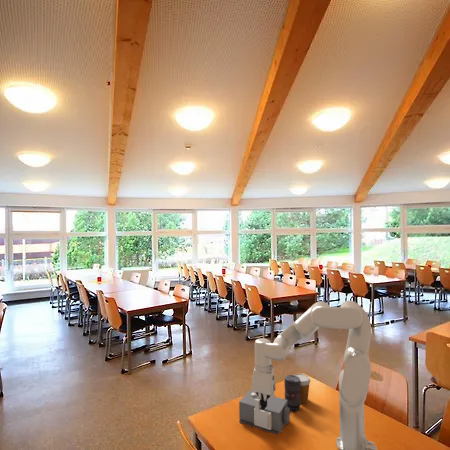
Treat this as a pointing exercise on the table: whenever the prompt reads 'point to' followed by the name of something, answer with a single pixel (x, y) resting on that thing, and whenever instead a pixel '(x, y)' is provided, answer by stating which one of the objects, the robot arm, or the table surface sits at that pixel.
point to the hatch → (261, 416)
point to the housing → (274, 406)
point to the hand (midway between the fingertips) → (263, 407)
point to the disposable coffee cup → (304, 387)
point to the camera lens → (292, 392)
